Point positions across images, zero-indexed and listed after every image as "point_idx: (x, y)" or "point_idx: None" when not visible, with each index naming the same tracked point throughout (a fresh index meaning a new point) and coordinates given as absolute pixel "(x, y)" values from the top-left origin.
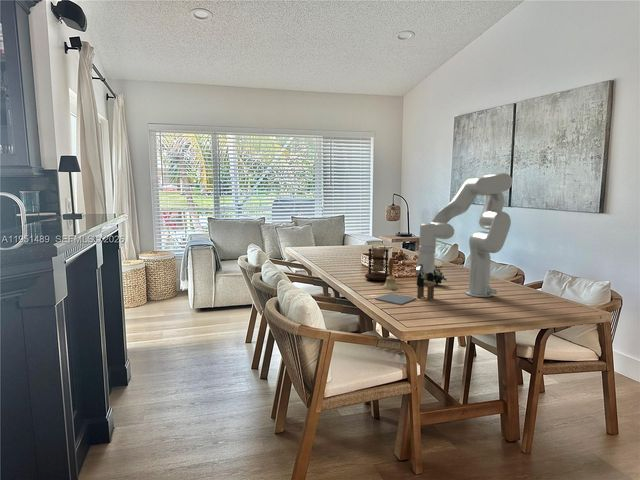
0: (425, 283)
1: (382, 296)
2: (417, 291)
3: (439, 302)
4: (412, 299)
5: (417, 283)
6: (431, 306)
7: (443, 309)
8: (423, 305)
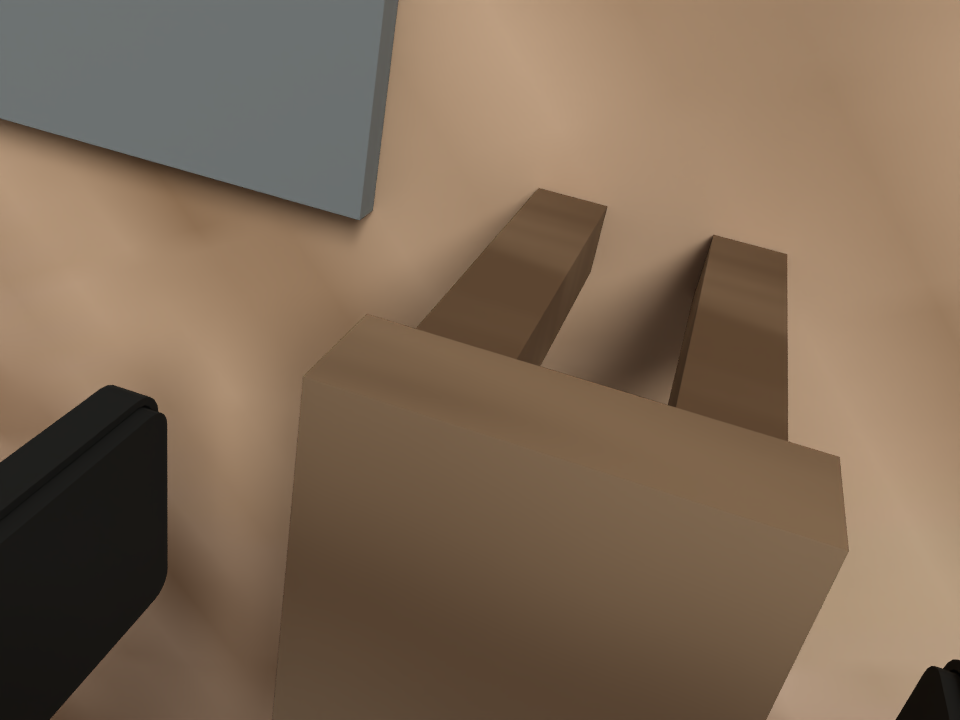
0: (282, 687)
1: None
2: (490, 247)
3: None
4: (172, 164)
5: (54, 441)
6: None
7: (74, 700)
8: None
